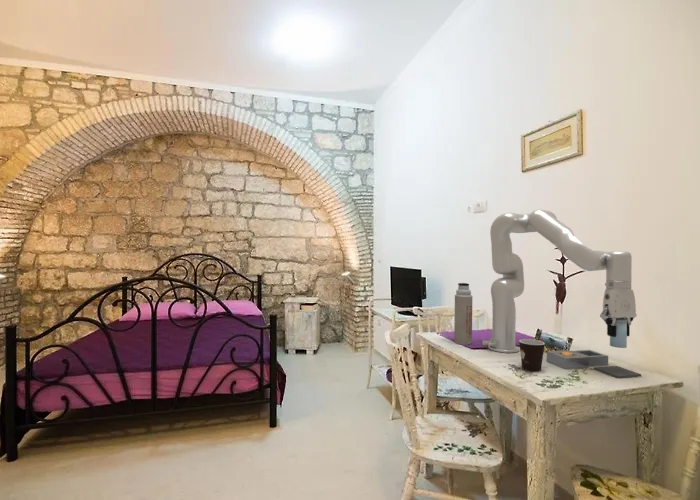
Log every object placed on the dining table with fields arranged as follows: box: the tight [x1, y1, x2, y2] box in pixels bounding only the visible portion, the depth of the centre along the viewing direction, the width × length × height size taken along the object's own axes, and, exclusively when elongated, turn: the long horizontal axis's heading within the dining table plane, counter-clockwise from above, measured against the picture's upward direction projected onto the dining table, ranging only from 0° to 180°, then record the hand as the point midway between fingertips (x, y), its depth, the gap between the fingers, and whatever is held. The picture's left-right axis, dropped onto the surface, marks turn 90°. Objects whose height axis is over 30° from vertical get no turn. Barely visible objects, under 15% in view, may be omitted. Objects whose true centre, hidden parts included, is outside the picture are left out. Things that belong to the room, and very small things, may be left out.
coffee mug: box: [518, 338, 545, 373], centre depth 145 cm, size 12×9×10 cm
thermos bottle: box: [453, 282, 473, 346], centre depth 182 cm, size 8×8×28 cm
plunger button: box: [562, 352, 572, 356], centre depth 150 cm, size 4×4×4 cm
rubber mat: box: [593, 365, 642, 379], centre depth 140 cm, size 10×10×1 cm
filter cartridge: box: [609, 318, 628, 349], centre depth 140 cm, size 5×5×10 cm
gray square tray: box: [572, 349, 609, 367], centre depth 153 cm, size 9×9×4 cm
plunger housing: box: [546, 349, 589, 370], centre depth 150 cm, size 10×10×4 cm
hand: (618, 335), depth 140 cm, fingers closed on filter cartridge, 5 cm apart
